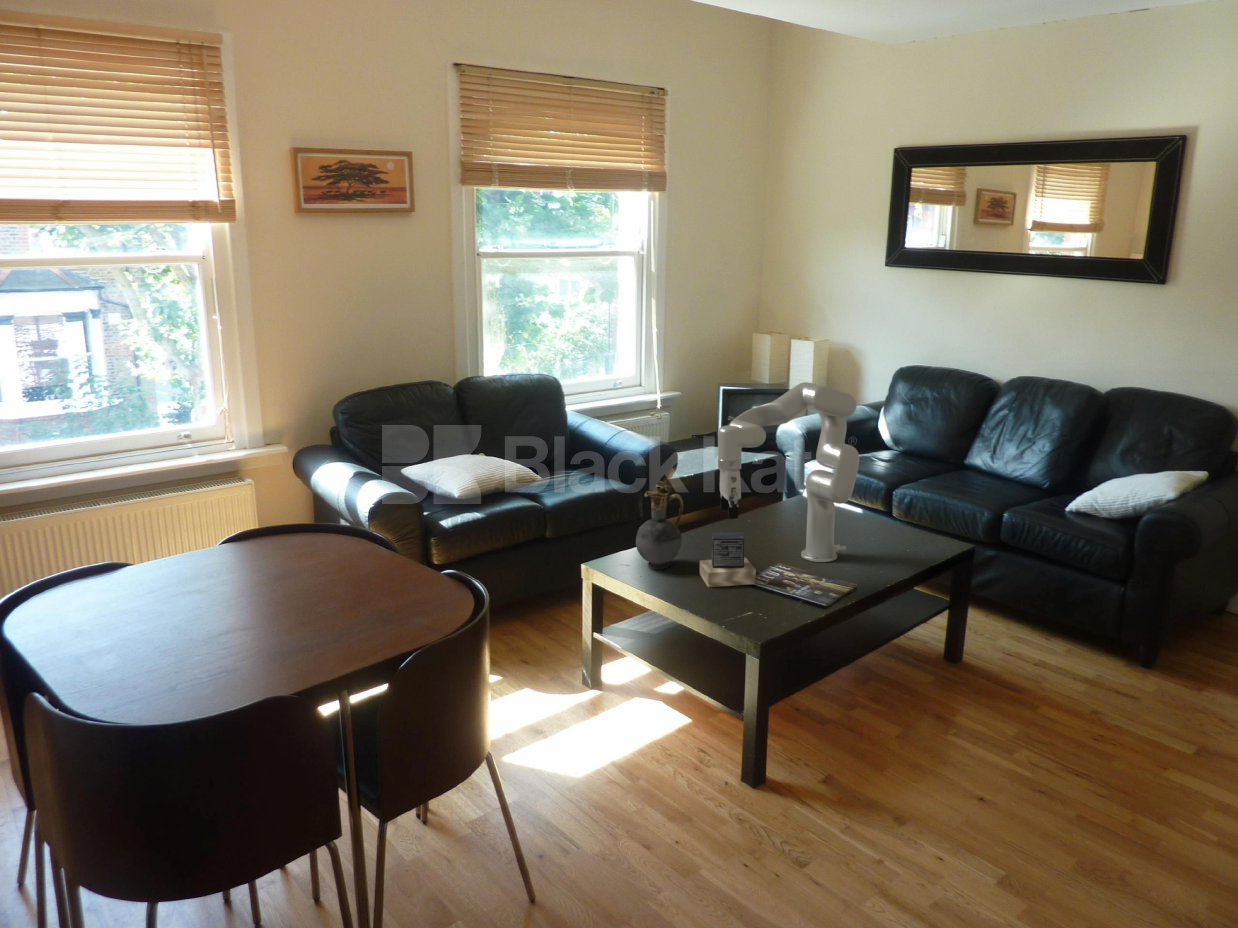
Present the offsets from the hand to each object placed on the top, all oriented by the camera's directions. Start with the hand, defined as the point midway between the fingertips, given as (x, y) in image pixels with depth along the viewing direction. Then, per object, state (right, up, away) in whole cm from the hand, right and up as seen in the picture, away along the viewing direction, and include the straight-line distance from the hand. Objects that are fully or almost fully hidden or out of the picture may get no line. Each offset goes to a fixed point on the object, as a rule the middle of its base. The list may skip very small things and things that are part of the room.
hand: (729, 513), depth 310 cm
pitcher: (-21, -19, +19) cm, 34 cm away
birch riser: (0, -22, +6) cm, 23 cm away
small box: (0, -17, +5) cm, 18 cm away
